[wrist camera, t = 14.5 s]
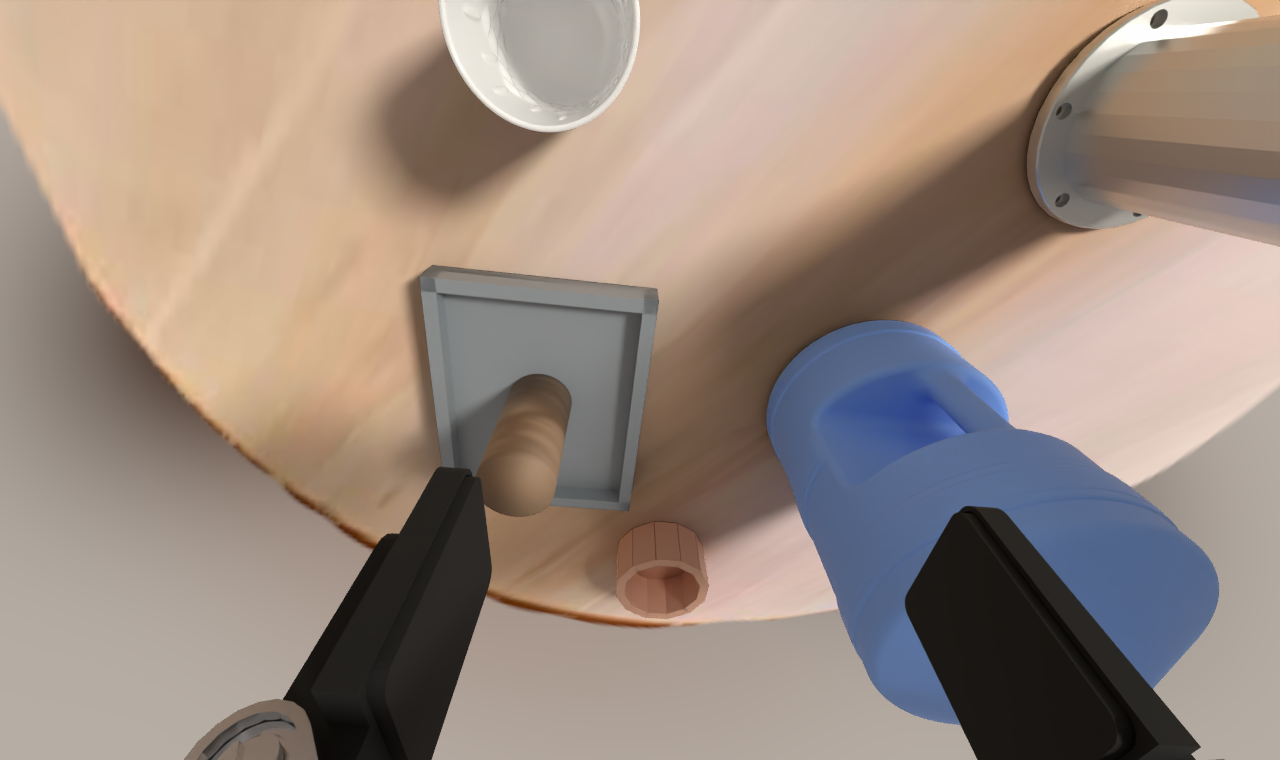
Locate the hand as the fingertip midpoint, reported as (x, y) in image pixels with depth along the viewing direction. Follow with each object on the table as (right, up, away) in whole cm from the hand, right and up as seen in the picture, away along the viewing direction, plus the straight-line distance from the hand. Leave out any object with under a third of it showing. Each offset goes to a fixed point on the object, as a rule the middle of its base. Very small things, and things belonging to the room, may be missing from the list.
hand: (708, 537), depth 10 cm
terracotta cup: (+1, -14, +40) cm, 42 cm away
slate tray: (-9, +2, +30) cm, 31 cm away
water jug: (+17, +2, +31) cm, 35 cm away
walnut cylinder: (-9, +2, +29) cm, 31 cm away
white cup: (-6, +23, +18) cm, 29 cm away
